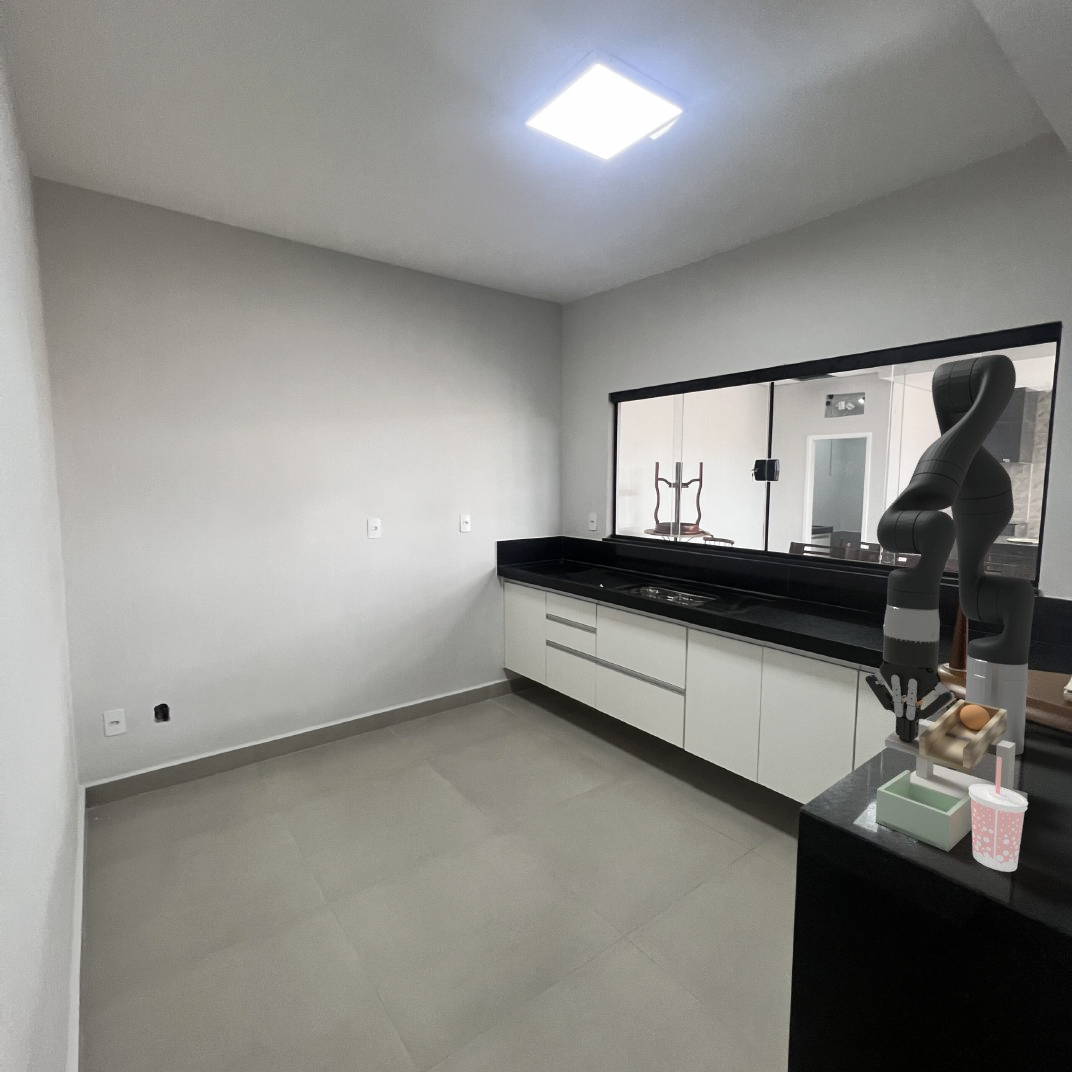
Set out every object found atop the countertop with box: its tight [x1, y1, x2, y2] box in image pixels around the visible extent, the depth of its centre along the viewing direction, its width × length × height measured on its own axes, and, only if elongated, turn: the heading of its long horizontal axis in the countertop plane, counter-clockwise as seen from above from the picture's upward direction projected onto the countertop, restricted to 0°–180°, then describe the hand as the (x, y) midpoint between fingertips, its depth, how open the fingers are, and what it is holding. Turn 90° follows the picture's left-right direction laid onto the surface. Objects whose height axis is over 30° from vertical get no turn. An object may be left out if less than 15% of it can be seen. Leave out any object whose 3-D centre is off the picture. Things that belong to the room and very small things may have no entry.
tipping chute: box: [884, 698, 1007, 774], centre depth 96 cm, size 18×12×5 cm
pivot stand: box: [910, 719, 1028, 801], centre depth 95 cm, size 12×14×10 cm
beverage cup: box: [969, 757, 1029, 873], centre depth 77 cm, size 6×6×14 cm
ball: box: [960, 705, 990, 730], centre depth 97 cm, size 4×4×4 cm
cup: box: [875, 769, 972, 853], centre depth 86 cm, size 11×9×5 cm
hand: (906, 739), depth 95 cm, fingers closed
